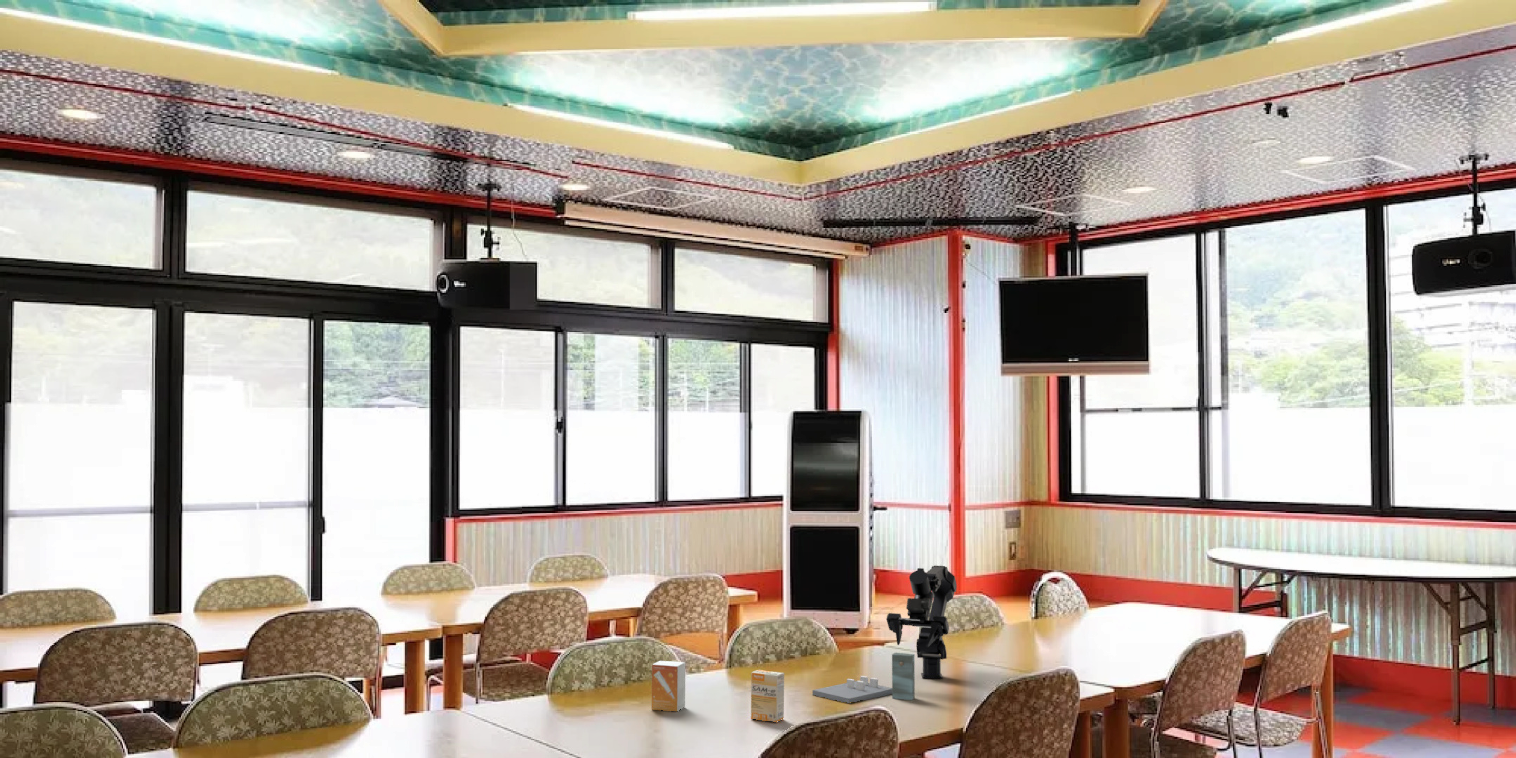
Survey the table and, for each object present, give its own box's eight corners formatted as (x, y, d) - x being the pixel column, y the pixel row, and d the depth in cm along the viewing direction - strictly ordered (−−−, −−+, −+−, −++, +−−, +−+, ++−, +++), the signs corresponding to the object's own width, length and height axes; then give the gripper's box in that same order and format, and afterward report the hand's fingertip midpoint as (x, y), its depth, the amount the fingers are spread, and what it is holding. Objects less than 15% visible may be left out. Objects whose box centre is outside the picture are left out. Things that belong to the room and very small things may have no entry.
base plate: (857, 685, 364) (857, 672, 365) (894, 693, 353) (894, 680, 353) (812, 695, 351) (812, 681, 351) (848, 703, 340) (848, 689, 340)
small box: (651, 710, 332) (651, 664, 332) (659, 705, 338) (659, 660, 338) (677, 712, 329) (677, 665, 330) (685, 707, 335) (685, 661, 336)
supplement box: (750, 720, 320) (750, 672, 321) (758, 716, 325) (758, 668, 325) (776, 723, 317) (776, 675, 317) (784, 719, 321) (784, 671, 321)
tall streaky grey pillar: (895, 696, 350) (895, 652, 350) (914, 698, 347) (914, 654, 348) (891, 698, 346) (891, 654, 347) (911, 700, 344) (910, 656, 344)
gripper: (888, 586, 365) (877, 626, 354) (947, 589, 358) (938, 630, 347) (894, 610, 371) (884, 649, 360) (952, 613, 364) (944, 653, 353)
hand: (912, 645), depth 355 cm, fingers open, 9 cm apart
